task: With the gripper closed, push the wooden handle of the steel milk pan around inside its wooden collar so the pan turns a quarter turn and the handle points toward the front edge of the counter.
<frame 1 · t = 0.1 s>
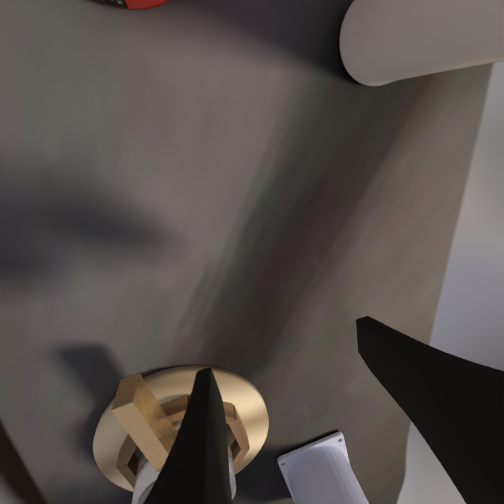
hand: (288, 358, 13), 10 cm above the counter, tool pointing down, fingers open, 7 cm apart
drinking glass: (371, 42, 18), on the counter
milk pan: (170, 446, 22), point 4 cm above the counter, hinge at 0.0°
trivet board: (186, 430, 27), on the counter
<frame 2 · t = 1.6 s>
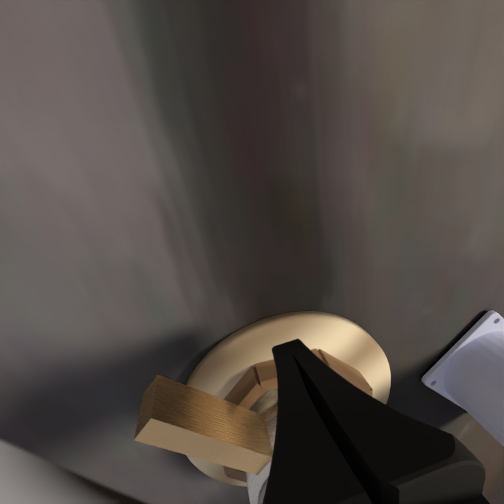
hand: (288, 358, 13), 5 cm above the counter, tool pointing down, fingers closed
milk pan: (263, 434, 16), point 4 cm above the counter, hinge at 0.0°
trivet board: (287, 401, 21), on the counter
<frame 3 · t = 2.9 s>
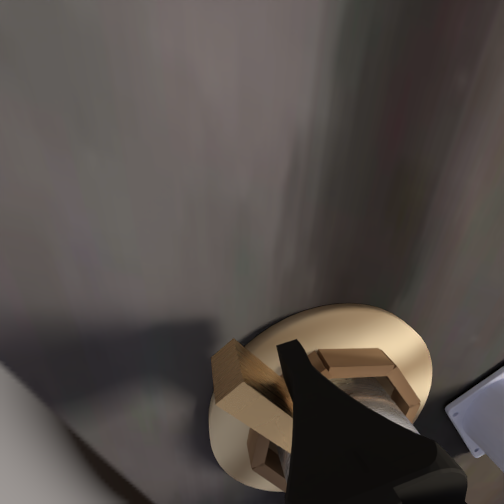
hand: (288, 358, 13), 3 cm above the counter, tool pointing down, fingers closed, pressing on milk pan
milk pan: (316, 428, 15), point 4 cm above the counter, hinge at 4.1°, touching gripper
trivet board: (321, 401, 20), on the counter
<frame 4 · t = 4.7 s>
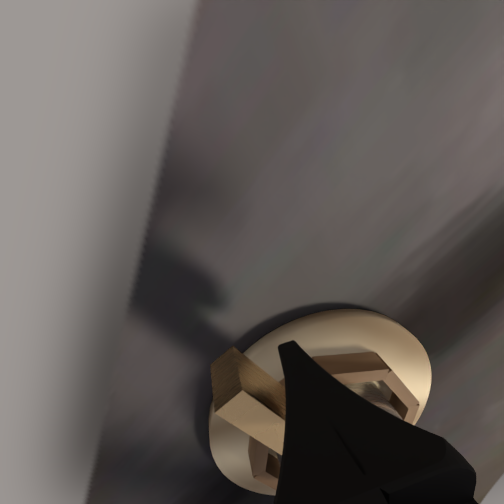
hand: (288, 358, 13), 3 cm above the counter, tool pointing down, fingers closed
milk pan: (315, 433, 15), point 4 cm above the counter, hinge at 45.5°, touching gripper
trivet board: (321, 405, 20), on the counter
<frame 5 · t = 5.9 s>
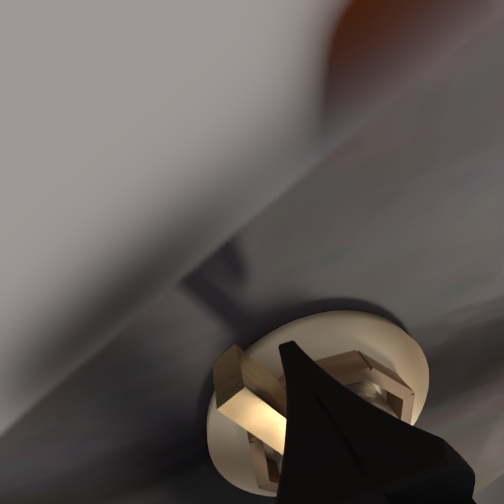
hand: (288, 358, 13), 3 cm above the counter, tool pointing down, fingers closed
milk pan: (314, 434, 15), point 4 cm above the counter, hinge at 76.7°, touching gripper
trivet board: (319, 406, 20), on the counter
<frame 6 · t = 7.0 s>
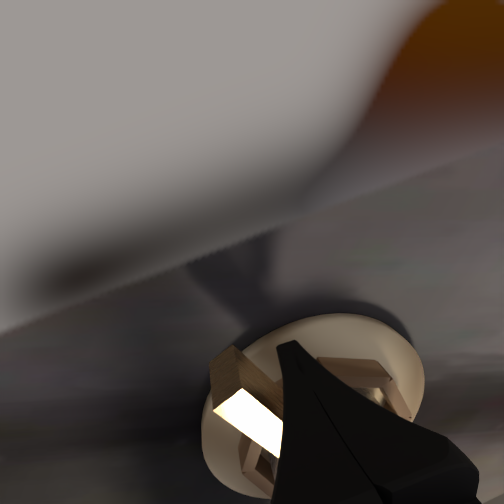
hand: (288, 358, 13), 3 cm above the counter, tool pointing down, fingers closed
milk pan: (309, 436, 15), point 4 cm above the counter, hinge at 95.9°, touching gripper
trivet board: (314, 409, 20), on the counter
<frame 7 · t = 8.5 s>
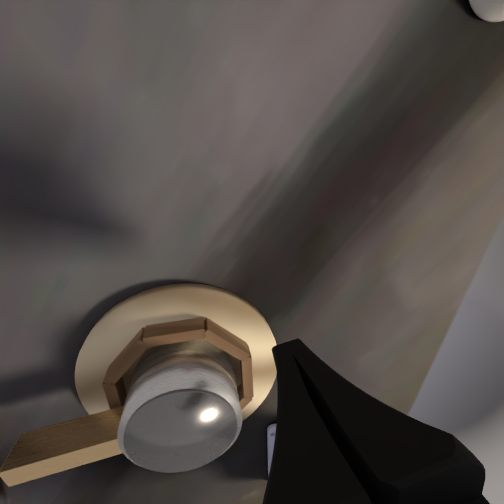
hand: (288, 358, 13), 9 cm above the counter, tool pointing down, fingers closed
milk pan: (134, 417, 20), point 4 cm above the counter, hinge at 96.0°
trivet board: (184, 367, 23), on the counter
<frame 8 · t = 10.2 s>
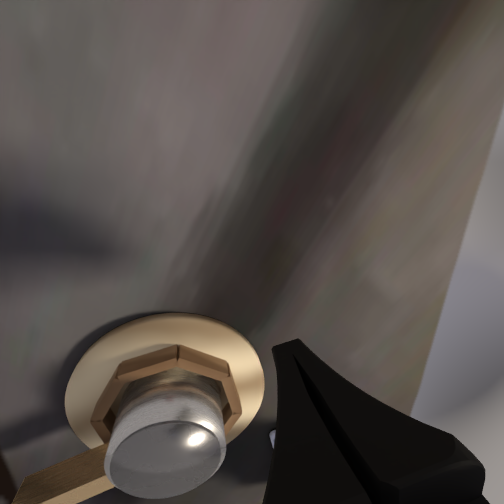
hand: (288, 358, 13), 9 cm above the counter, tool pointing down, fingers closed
milk pan: (125, 449, 20), point 4 cm above the counter, hinge at 96.0°
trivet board: (173, 391, 24), on the counter
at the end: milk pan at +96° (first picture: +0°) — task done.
